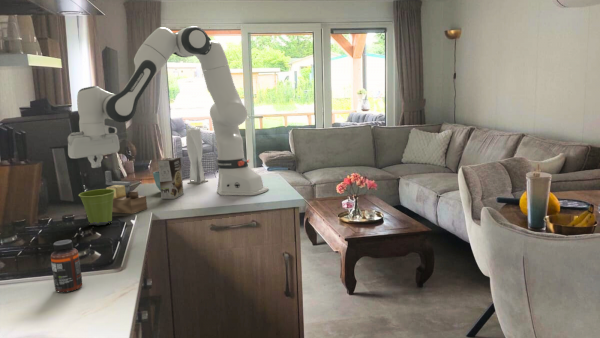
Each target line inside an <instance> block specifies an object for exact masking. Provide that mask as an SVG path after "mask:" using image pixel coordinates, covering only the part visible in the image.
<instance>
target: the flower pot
mask: <svg viewBox="0 0 600 338" xmlns="http://www.w3.org/2000/svg"><path fill="white" fill-rule="evenodd" d="M152 175H153V180H154V183H155V185H156V187H157V189H158V190H159V191H160V192H161V189H160V177H159V170H158V171H154V172H152Z"/></svg>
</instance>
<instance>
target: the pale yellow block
mask: <svg viewBox="0 0 600 338" xmlns="http://www.w3.org/2000/svg"><path fill="white" fill-rule="evenodd" d="M105 189H114V190H115V192H114V198H120V197H124V196H126V193H125V186H123V185H110V186H107V187H105Z"/></svg>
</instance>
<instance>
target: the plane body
mask: <svg viewBox="0 0 600 338" xmlns="http://www.w3.org/2000/svg"><path fill="white" fill-rule="evenodd" d="M147 203H148V202H147V196H146V195H139V191H138V190H130V197H128V198H126V196H124V197H120V198H113V207H112V213H119V214H131V215H132V214H136V213H138V212H141V211H145V210H148V204H147Z"/></svg>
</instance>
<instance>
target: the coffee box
mask: <svg viewBox="0 0 600 338" xmlns="http://www.w3.org/2000/svg"><path fill="white" fill-rule="evenodd" d="M181 159H182V158H181V157H167V158H164V159H160V160H158V161H157V162H158V163H157V165H158V171H159V177H160V189H161V191H160V196H161V197H160V198H161V199H163V200H165V199H167V200H168V199H169V200H170V199H171V200H173V199H174V200H175V199H177V198H179V197H181V196H183V195H184V186H183V171H182V161H181Z"/></svg>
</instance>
